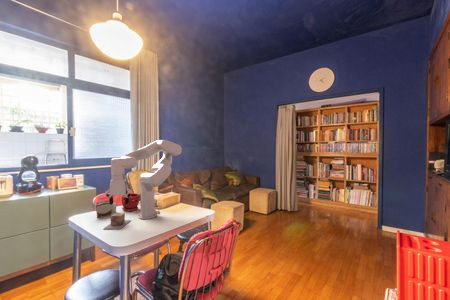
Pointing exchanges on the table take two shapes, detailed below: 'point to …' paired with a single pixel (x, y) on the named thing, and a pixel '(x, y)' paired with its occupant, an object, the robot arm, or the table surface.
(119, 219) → the walnut block
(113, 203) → the grey narrow block
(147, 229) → the table surface
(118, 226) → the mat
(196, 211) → the table surface
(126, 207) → the plant pot
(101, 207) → the food container
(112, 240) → the table surface
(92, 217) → the table surface
